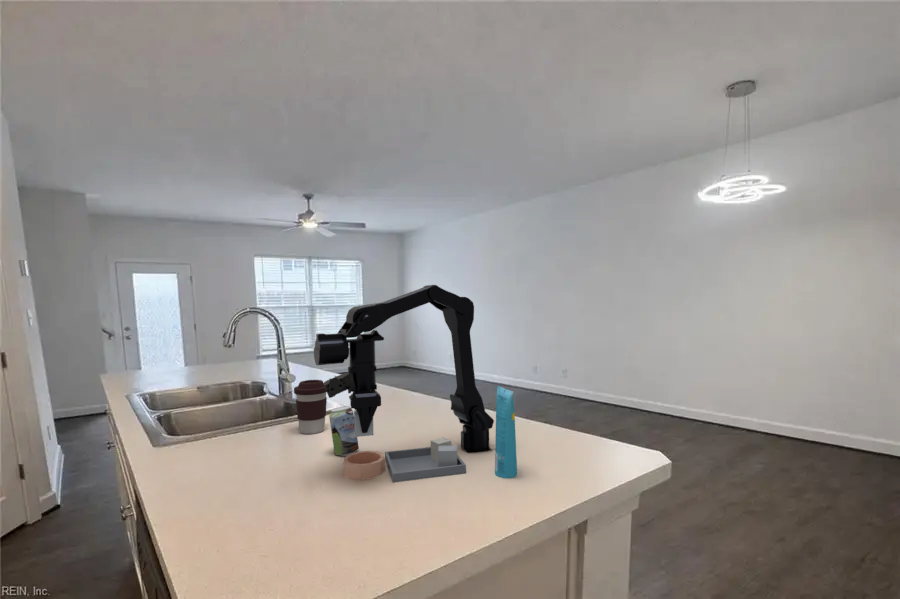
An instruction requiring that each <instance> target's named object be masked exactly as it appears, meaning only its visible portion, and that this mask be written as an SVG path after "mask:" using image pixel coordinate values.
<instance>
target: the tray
mask: <svg viewBox="0 0 900 599" xmlns="http://www.w3.org/2000/svg"><path fill="white" fill-rule="evenodd" d="M384 457H385V464H386V467H387V470H388V472H389V475H390V477H391V481H392V483H399V482H400V483H401V482H407V481H416V480H423V479H424V480H425V479H431V478H438V477H448V476H456V475H463V474H465V475H466V474H467V464H466V463H465V462H464V460H462V459H461V457H460V456H459V455H458V454H457V465H453V466H444V467H439V463H438V462H437V461H435V460H433V459H431V446H425V447H416V448H408V449H398V450H390V451H389V450H387V451H385V452H384Z"/></svg>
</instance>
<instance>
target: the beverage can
mask: <svg viewBox="0 0 900 599" xmlns="http://www.w3.org/2000/svg"><path fill="white" fill-rule="evenodd" d="M329 423H330V424H329V425H330V430H331V432H330V433H331V437H332V445H333V452H334V455H336V456H339V457H346V456H347V455H349V454H352V453H356V452H358V450H359V441H358V440H359V439H358V437H355V432H354V410H353V408H351V406H349V405H347V406H341V407H336V408H333V409H331V410H330V414H329Z"/></svg>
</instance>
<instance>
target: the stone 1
mask: <svg viewBox="0 0 900 599" xmlns="http://www.w3.org/2000/svg"><path fill="white" fill-rule="evenodd" d="M353 413H354V432H355V437H357V438H359V437H369V436H374V434H375V433H374V418H373V419H372V421H371V424H370V426H369V429H368V432H367V433H362V430H361V425H360V420H359V416H358V412H357V411H356V410H355V409H354V410H353Z"/></svg>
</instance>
